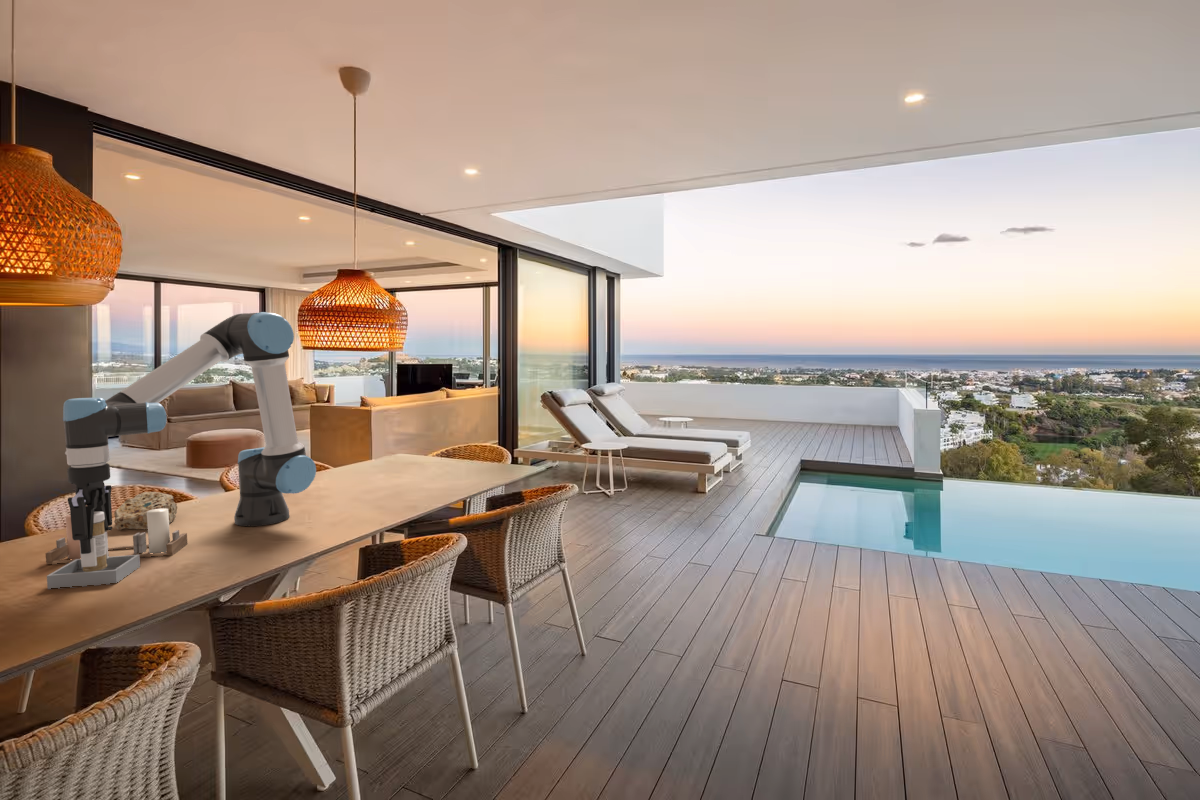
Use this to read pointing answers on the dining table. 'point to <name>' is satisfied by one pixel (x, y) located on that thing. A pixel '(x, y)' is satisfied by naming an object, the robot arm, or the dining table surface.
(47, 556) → the rack
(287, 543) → the dining table surface
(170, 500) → the rock
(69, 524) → the pink cylinder
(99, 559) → the sprinkles bottle
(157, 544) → the cream jar
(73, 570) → the tray
